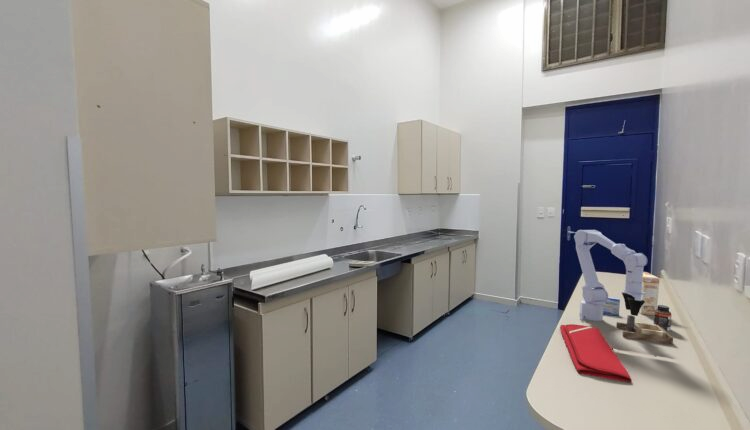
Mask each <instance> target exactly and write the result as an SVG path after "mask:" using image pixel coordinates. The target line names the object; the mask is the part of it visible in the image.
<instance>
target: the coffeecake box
mask: <svg viewBox="0 0 750 430" xmlns="http://www.w3.org/2000/svg"><path fill="white" fill-rule="evenodd" d="M660 280H661V279H660V278H659V277H658V276H656V275H653V274H652V273H650V272H647V271H643V281H642V292H644V293H645V295H641V300H644V301H645V303H644V304H643V305H642V306H641V308H640V311H639V313H638V314H641V315H649V316H654V311H655V310H656V309H658V308H657V307H658V303H659V302H658V300H659V292H660V291H659V290H660V289H659V288H660Z"/></svg>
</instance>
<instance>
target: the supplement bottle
mask: <svg viewBox="0 0 750 430" xmlns="http://www.w3.org/2000/svg"><path fill="white" fill-rule="evenodd" d="M653 324H654V325H658V326H659V327H662V328H664V329H665V330H666V331H667V332H669V331H671V326H672V311H670V306H668V305H663V304H657V309H656V310H655V311H654V315H653Z"/></svg>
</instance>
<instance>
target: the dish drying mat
mask: <svg viewBox="0 0 750 430" xmlns="http://www.w3.org/2000/svg"><path fill="white" fill-rule="evenodd" d="M559 329H560V333H561V336H562V338H563V341H564V344H565V346H566V348H567V351H568V355H569V356H570V359H571V361H572V363H573V365H574V367H575V369H576V371H577V373H578V374H581V375H587V376H592V377H596V378H597V377H600V378H603V379H609V380H614V381H620V382H623V383H631V382H632V381H633V380H632V377H631V376H630V374H629V372H628V371H627V369H626V367H625V366H624V365H623V363H622V362H621V360H620V359H619V357H618V355H617V353H616V352H614V350H613V349H612V347H611V346H610V344H609V343H608V341H607V340H606V338H605V337H604V336H603V334H602V332H601V331H600V329H599V328H597V327H596V326H588V325H580V324H570V323H569V324H561V325H559Z"/></svg>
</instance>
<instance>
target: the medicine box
mask: <svg viewBox="0 0 750 430" xmlns="http://www.w3.org/2000/svg"><path fill="white" fill-rule="evenodd" d="M620 304H621V299H620V298H618V297H615V296H608V299H607V300H606V301H605V303H604V307H603V315H605V316H606V315H607V316H616V317H619V316H620V308H621V305H620Z"/></svg>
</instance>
